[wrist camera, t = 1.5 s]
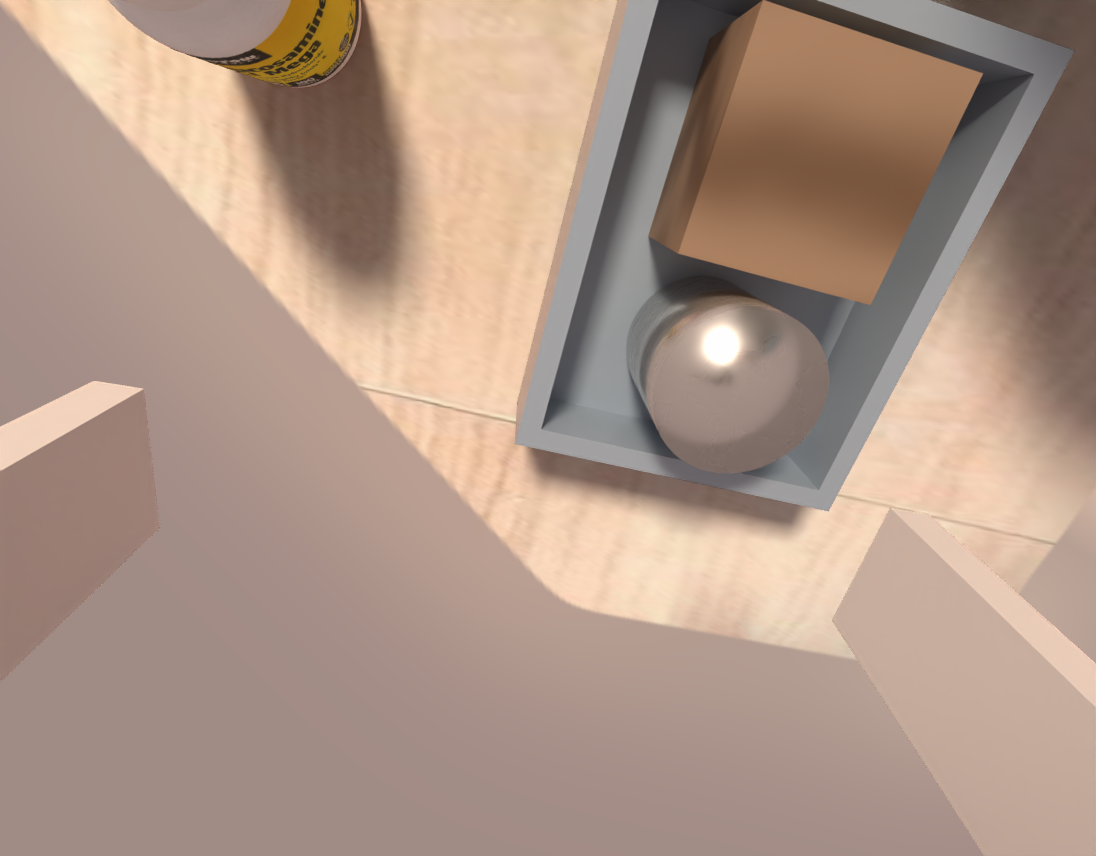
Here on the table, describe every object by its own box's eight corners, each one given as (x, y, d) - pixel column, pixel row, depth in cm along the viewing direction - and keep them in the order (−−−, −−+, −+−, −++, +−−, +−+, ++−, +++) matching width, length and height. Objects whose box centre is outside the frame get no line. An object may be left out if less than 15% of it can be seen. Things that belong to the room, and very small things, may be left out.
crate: (628, -45, 23) (653, -97, 18) (975, 72, 25) (1074, 50, 20) (517, 403, 31) (514, 444, 26) (787, 463, 33) (828, 511, 28)
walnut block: (709, 38, 24) (763, 0, 18) (882, 94, 25) (983, 73, 19) (648, 236, 27) (678, 253, 21) (803, 278, 28) (870, 305, 22)
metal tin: (651, 260, 27) (687, 288, 21) (785, 295, 28) (860, 333, 22) (608, 393, 30) (629, 454, 24) (732, 422, 31) (785, 488, 24)
